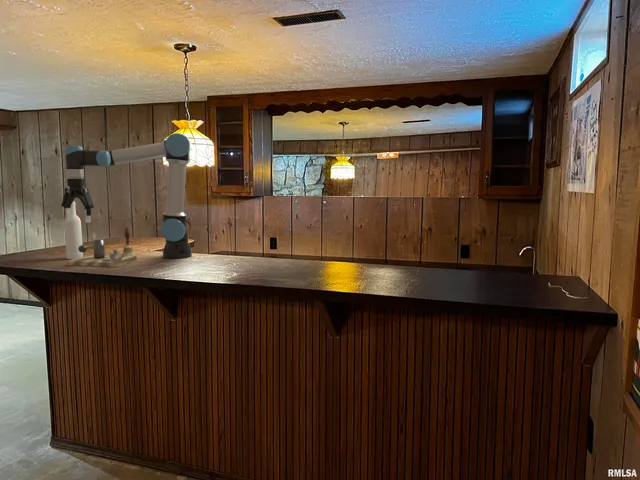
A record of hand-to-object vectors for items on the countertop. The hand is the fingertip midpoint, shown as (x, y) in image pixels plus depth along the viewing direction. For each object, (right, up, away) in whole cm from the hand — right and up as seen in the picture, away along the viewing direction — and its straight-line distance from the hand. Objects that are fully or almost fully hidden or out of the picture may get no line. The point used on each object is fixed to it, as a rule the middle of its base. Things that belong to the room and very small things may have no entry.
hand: (78, 222), depth 222 cm
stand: (+9, -20, +6) cm, 23 cm away
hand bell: (+14, -18, +24) cm, 33 cm away
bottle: (-11, -19, +18) cm, 28 cm away
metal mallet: (+5, -18, +3) cm, 19 cm away
